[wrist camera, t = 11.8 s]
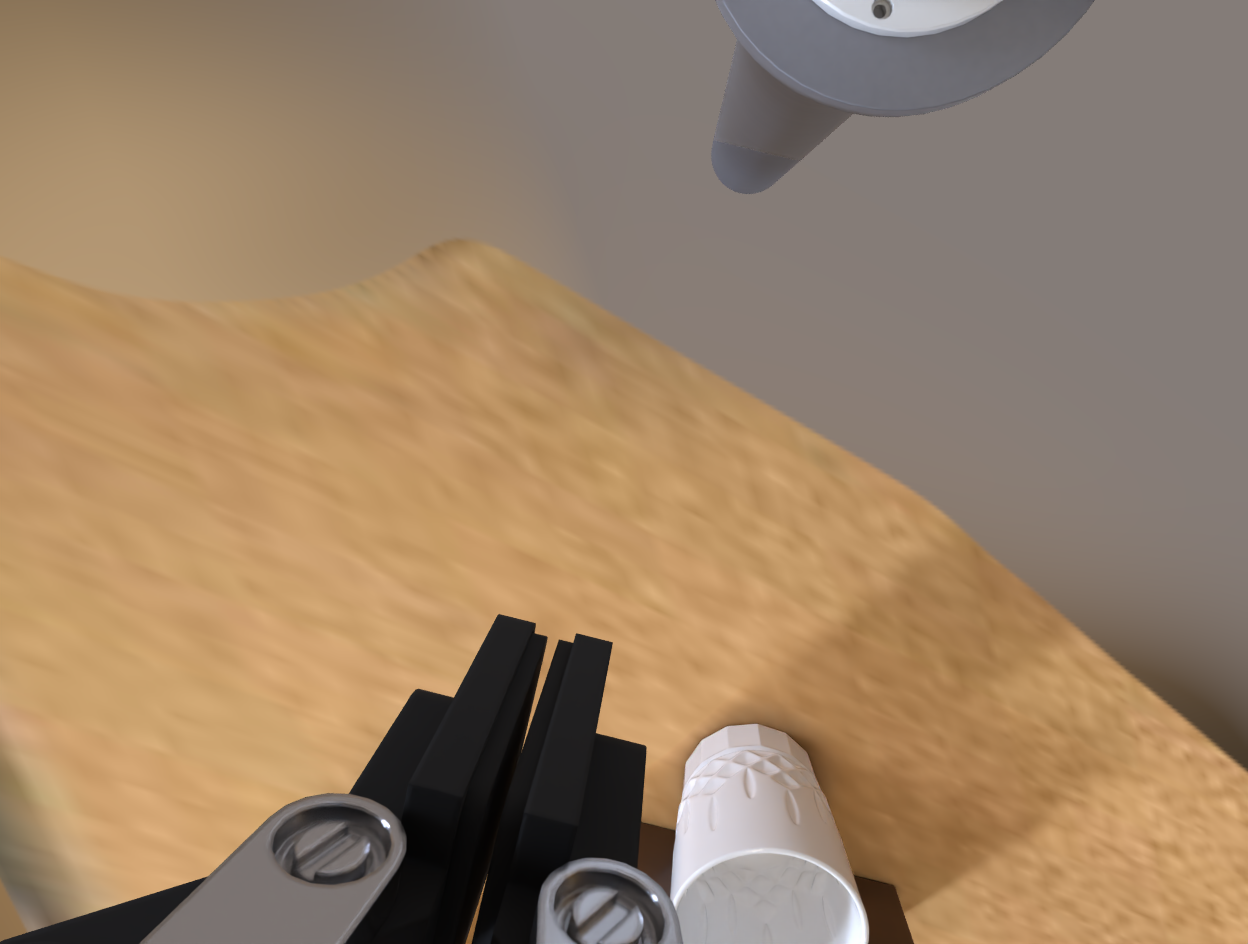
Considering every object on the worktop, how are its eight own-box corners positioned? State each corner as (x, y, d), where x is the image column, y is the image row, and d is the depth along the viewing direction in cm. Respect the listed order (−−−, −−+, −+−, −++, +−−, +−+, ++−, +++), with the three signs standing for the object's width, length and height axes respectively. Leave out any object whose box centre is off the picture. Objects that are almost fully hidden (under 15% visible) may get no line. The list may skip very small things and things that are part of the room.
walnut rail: (598, 811, 43) (587, 879, 38) (895, 885, 43) (921, 964, 38) (585, 857, 44) (573, 931, 39) (877, 931, 44) (901, 1014, 39)
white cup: (850, 740, 41) (900, 886, 32) (794, 865, 43) (825, 1039, 34) (700, 691, 41) (705, 823, 31) (651, 819, 43) (641, 979, 33)
